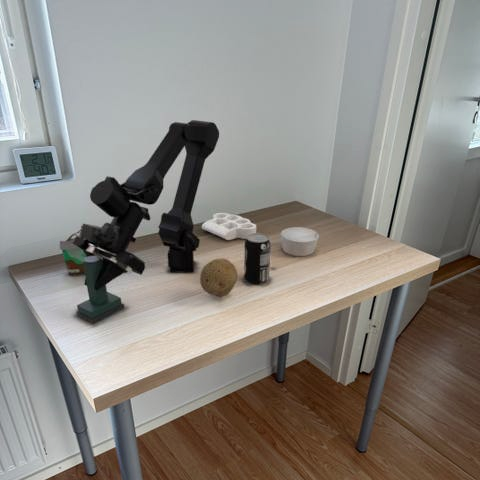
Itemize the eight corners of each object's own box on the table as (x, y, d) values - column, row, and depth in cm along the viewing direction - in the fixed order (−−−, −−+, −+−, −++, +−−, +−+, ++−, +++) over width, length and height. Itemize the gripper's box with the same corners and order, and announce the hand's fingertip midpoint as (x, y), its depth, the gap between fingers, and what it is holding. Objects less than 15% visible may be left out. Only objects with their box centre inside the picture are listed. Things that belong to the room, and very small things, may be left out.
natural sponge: (223, 310, 110) (223, 271, 104) (193, 299, 114) (191, 262, 108) (243, 294, 116) (244, 257, 111) (214, 285, 120) (213, 249, 115)
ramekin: (313, 260, 134) (314, 243, 131) (275, 255, 137) (276, 238, 134) (320, 246, 143) (322, 229, 140) (284, 241, 146) (285, 225, 143)
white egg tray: (195, 229, 153) (229, 219, 162) (231, 245, 142) (265, 233, 150) (195, 219, 152) (229, 209, 160) (231, 234, 140) (266, 223, 149)
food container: (87, 279, 122) (80, 244, 117) (65, 277, 123) (58, 241, 118) (107, 260, 133) (102, 226, 127) (87, 258, 134) (81, 224, 128)
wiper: (107, 300, 113) (99, 249, 106) (124, 307, 110) (117, 255, 103) (76, 315, 107) (65, 262, 100) (93, 324, 104) (83, 269, 97)
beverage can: (243, 274, 126) (243, 232, 119) (267, 274, 126) (269, 232, 120) (245, 286, 120) (246, 242, 114) (270, 285, 121) (272, 241, 114)
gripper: (72, 199, 103) (38, 261, 102) (129, 217, 94) (92, 285, 92) (105, 224, 113) (74, 281, 111) (160, 243, 103) (127, 305, 102)
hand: (90, 287), depth 104 cm, fingers closed on wiper, 3 cm apart
